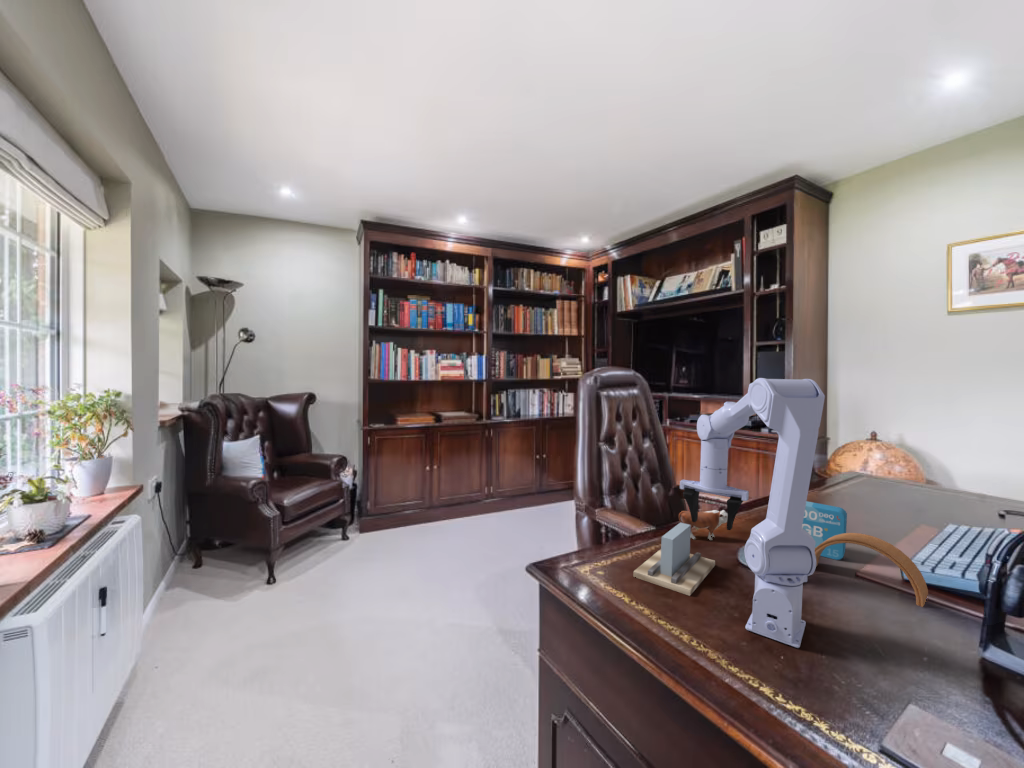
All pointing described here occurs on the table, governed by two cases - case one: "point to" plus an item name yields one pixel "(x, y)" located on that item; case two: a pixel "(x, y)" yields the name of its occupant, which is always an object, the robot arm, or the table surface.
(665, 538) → the grey rectangular block
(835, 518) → the data package
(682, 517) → the bull figurine
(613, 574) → the table surface
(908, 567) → the arch
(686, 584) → the track board
